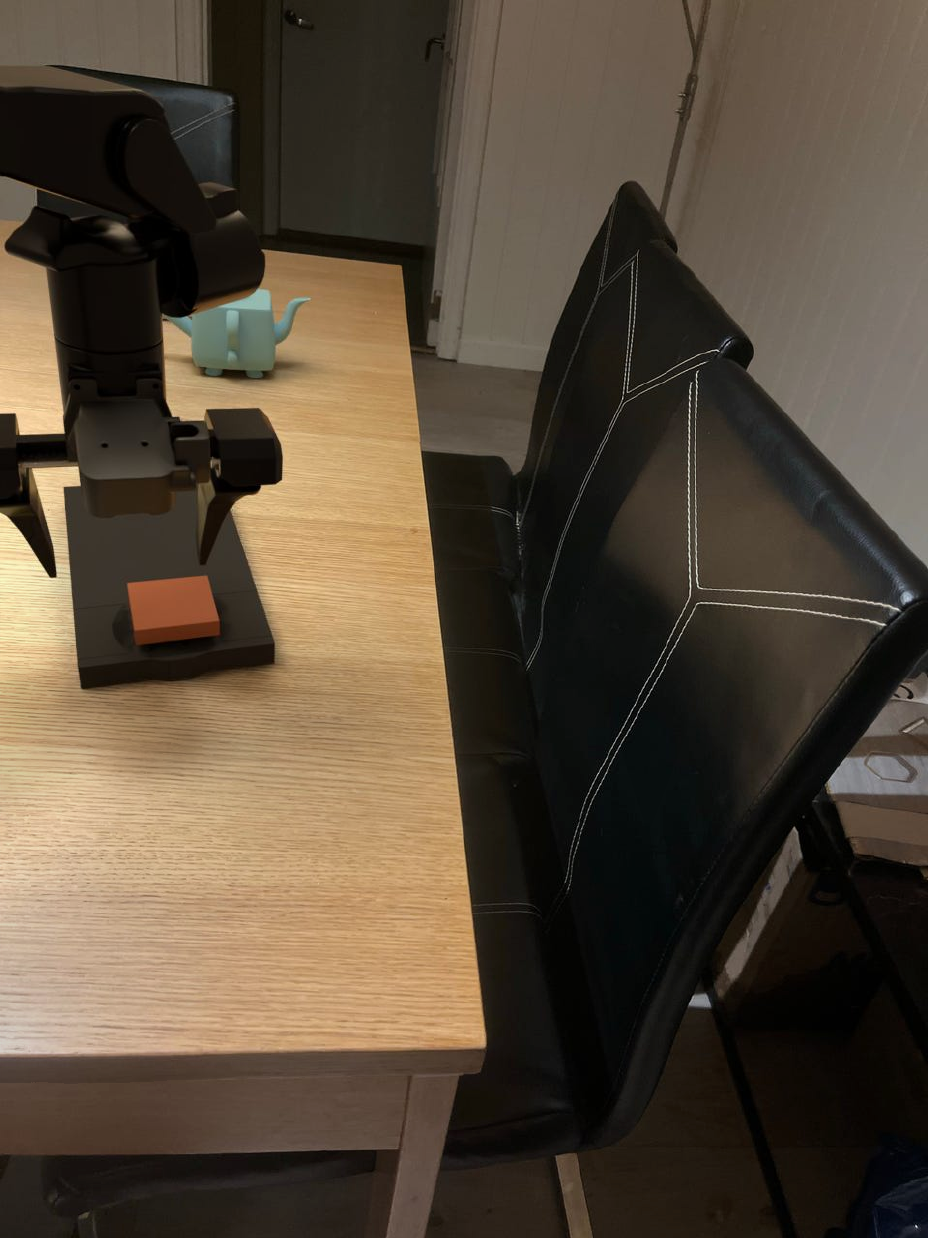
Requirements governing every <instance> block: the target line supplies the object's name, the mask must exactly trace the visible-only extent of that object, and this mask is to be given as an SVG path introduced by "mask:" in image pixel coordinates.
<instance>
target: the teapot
mask: <svg viewBox="0 0 928 1238" xmlns="http://www.w3.org/2000/svg"><path fill="white" fill-rule="evenodd" d="M309 301H311V298H310V297H295V298H293V299H291V300H290V301H289V302H288V304H287V306H286V308H285V312H284V315H283V317H282V318H281V319H280V320H279V321H277V322H276V323H275V318H274V317H275V316H274V310H273V309H274V308H273V303H272V297H271V292H270V290H268V289H263V288H258V289H257V290H256V292H255V293H254V294H252V295H251V296H249V297H247V298H244V299H241V300H238V301H235V302H231V303H228V304H225V305H222V306H218V307H215V308H212V309H209V310H206V311H202V312H199V313H196V314H193V317H192V320H191V319H189V318H188V317H187V316H186V317H183V318H173V317H169V316H166V315H164V314H162V316H164V317H165V318H166V319H165V320H167V321H169V322H170V323H171V324H172V325H174V326H175V327H176V328H178V329H179V330H180V331H181V332H183V333H184V334H185V335H186V336H187V337H189V338H191V340H190V343H191V345H190V346H191V356H192V361H193V365H194V366H196V367H200V368H206V369H205V371H204V373H205V374H206V375H208V376H210V377H211V376H212V377H218V376H221V375H223V370H234V371H235V370H236V371H245V375H246V377H248V378H251V379H260V378H263V377H264V374H263V371H272V370H273V368H274V365H275V361H276V360H275V359H276V347H277V346H278V345H280V344H282V343H283V342H284V341H285V340H287V339H288V337H289V335H290V334H291V331H292V329H293V324H294V320H295V317H296V314H297V311H298V310H299V308H300V307H301V306H302V305H303V304H305V303H307V302H309Z"/></svg>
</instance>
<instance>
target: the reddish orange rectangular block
mask: <svg viewBox="0 0 928 1238" xmlns="http://www.w3.org/2000/svg"><path fill="white" fill-rule="evenodd" d="M127 588H128V597H129V604H130V610H131V616H132V623H133V629H134V636H135V642H136V645H142V644H150V643H159V642H179V641H185V640H188V639H192V638H200V637H209V636H217V635H220V623H219V617H218V614H217V610H216V606H215V603H214V599H213V595H212V592H211V588H210V584H209V581H208V577H207V576H197V577H186V578H176V579H166V580H155V581H145V582H135V583H127Z"/></svg>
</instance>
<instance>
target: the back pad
mask: <svg viewBox="0 0 928 1238" xmlns="http://www.w3.org/2000/svg"><path fill="white" fill-rule="evenodd" d="M62 487H63V488H62V489H63V499H64V511H65V512H64V513H65V525H66V537H67V549H68V563H69V572H70V573H69V575H70V586H71V599H72V610H73V624H74V636H75V647H76V659H77V660H76V661H77V670H78V671H77V672H78V678H79V683H80V688H81V689H89V688H96V687H104V686H111V685H121V684H127V683H133V682H134V683H135V682H141V681H148V680H149V681H150V680H159V681H168V682H169V681H170V682H173V681H179V680H187V679H194V678H198V677H199V676H202V675H203V674H206V673H208V672H216V671H217V672H218V671H224V670H231V669H239V668H245V667H247V668H248V667H253V666H254V667H255V666H259V665H268V664H269V665H270V664H274V663H276V653H275V652H276V642H275V639H274V636H273V633H272V629H271V627H270V624H269V622H268V618H267V615H266V612H265V610H264V606H263V604H262V600H261V597H260V594H259V592H258V588H257V585H256V582H255V579H254V576H253V574H252V570H251V567H250V563H249V562H248V559H247V555H246V551H245V550H244V546H243V543H242V540H241V538H240V534H239V531H238V528H237V525H236V523H235V519H234V517H233V514H232V511H231V510H232V509H230V511H229V513H228V515H227V516H226V518H225V520H224V522H223V524H222V527H221V529H220V532H219V534H218V536H217V539H216V541H215V544H214V546H213V549H212V551H211V554H210V556H209V559H208V561H207V563H206V565H201V566H200V565H199V561H198V557H197V545H196V524H197V505H198V487H199V484H196V491H181V492H176V494H175V506H174V508H173V509H172V510H171V511H169V512H168V513H165V514H161V515H150V514H148V513H142V514H125V515H116V516H114V517H112V518H97V517H94V516H91V515H90V514H88V513H87V512H86V511H85V509H84V507H83V502H82V493H81V485H72V486H71V485H70V486H69V485H68V486H62ZM197 576H207V577H208V581H209V584H210V588H211V592H212V595H213V599H214V603H215V606H216V610H217V614H218V617H219V623H220V635H217V636H209V637H200V638H192V639H188V640H185V641H179V642H159V643H150V644H142V645H136V642H135V636H134V629H133V623H132V616H131V610H130V604H129V597H128V588H127V583H135V582H145V581H155V580H166V579H176V578H186V577H197Z"/></svg>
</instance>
